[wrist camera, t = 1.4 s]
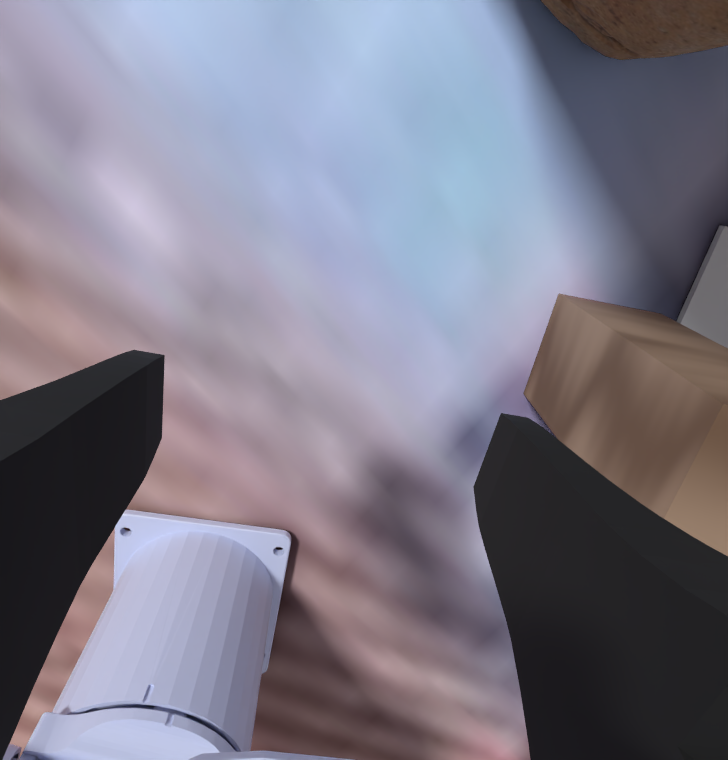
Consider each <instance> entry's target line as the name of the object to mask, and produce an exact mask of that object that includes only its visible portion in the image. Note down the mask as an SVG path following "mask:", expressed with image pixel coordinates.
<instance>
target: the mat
mask: <svg viewBox="0 0 728 760" xmlns="http://www.w3.org/2000/svg"><path fill="white" fill-rule="evenodd" d="M676 322H678V323H680V324H682V325H684V326H686V327H688V328H689V329H691V330H693V331H695V332H697V333H699V334H701V335H703V336H705V337H707V338H709V339H711V340H712V341H714V342H716V343H718V344H720V345H722V346H724V347H726V348H728V227H726V226H721V225H719V227H718V230H717V232H716V234H715V236H714V239H713V241H712V243H711V245H710V248H709V250H708V252H707V254H706V256H705V259H704V261H703V263H702V265H701V268H700V270H699V272H698V274H697V276H696V279H695V281H694V283H693V285H692V288H691V290H690V292H689V294H688V296H687V299H686V301H685V303H684V305H683V308H682V310H681V312H680V314H679V316H678V319H677V321H676Z"/></svg>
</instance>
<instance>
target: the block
mask: <svg viewBox="0 0 728 760" xmlns="http://www.w3.org/2000/svg"><path fill="white" fill-rule="evenodd" d="M541 1H542V2H543V3H544V5H545V6H546V7H547V8H548V9H549V10H550V11H551V12H552V14H553V15H554V16H555V17H556V18H557V19H558V20H559V21H560V22H561V23H562V24H563V25H564V26H566V27H567V28H568V29H570V30H571V31H572V32H573V33H575V34H576V36H577V37H578V38H579V39H580V40H581V41H582V42H583V43H585V44H586V45H588V46H589V47H591V48H593V49H594V50H596V51H597V52H599V53H601V54H602V55H604V56H606V57H610V58H615V59H619V60H626V59H638V58H659V57H670V56H676V55H680V54H686V53H692V52H698V51H703V50H708V49H712V48H717V47H722V46H726V45H728V0H541Z"/></svg>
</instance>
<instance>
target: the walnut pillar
mask: <svg viewBox="0 0 728 760" xmlns="http://www.w3.org/2000/svg"><path fill="white" fill-rule="evenodd" d="M524 395H525V396H526V397H527V399H528V400H529V401H530V403H531V404H532V405H533V407H534V408H535V409H536V411H537V412H538V414H539V415H540V416H541V418H542V419H543V420H544V422H545V423H546V424H547V426H548V427H549V428H550V430H551V431H552V432H553V434H554V435H555V436H556V438H557V439H558V440H559V441H561V442H562V443H563V444H564V445H566V446H567V447H568V448H569V449H570V450H572V451H573V452H574V453H575V454H577V455H578V456H579V457H580V458H582V459H583V460H584V461H585V462H587V463H588V464H589V465H590V466H592V467H593V468H594V469H595V470H597V471H598V472H599V473H601V474H602V475H603V476H604V477H606V478H607V479H608V480H610V481H611V482H612V483H614V484H615V485H616V486H618V487H619V488H620V489H622V490H623V491H625V492H626V493H627V494H629V495H630V496H631V497H633V498H634V499H636V500H637V501H638V502H640V503H641V504H643V505H644V506H645V507H647V508H648V509H650V510H651V511H653V512H654V513H656V514H657V515H659V516H660V517H662V518H664V519H665V520H667V521H668V522H670V523H672V524H673V525H675V526H676V527H678V528H680V529H681V530H683V531H684V532H686V533H688V534H689V535H691V536H692V537H694V538H696V539H698V540H699V541H701V542H703V543H705V544H706V545H708V546H710V547H711V548H713V549H715V550H717V551H719V552H721V553H723V554H724V555H726V556H728V348H726V347H724V346H722V345H720V344H718V343H716V342H714V341H712V340H711V339H709V338H707V337H705V336H703V335H701V334H699V333H697V332H695V331H693V330H691V329H689V328H688V327H686V326H684V325H682V324H680V323H678V322H676V321H674V320H672V319H670V318H668V317H666V316H664V315H663V314H660V313H655V312H650V311H645V310H640V309H635V308H629V307H624V306H619V305H614V304H609V303H604V302H599V301H594V300H589V299H584V298H578V297H573V296H568V295H563V294H558V297H557V300H556V303H555V306H554V309H553V311H552V314H551V317H550V320H549V323H548V326H547V328H546V331H545V334H544V337H543V340H542V343H541V345H540V348H539V351H538V354H537V357H536V360H535V362H534V365H533V368H532V371H531V374H530V377H529V380H528V382H527V385H526V388H525V391H524Z"/></svg>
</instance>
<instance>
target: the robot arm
mask: <svg viewBox="0 0 728 760" xmlns="http://www.w3.org/2000/svg"><path fill="white" fill-rule="evenodd" d="M163 385H164V355H160V354H155V353H149V352H143V351H137V350H132V351H129V352H125V353H123V354H120V355H117V356H115V357H112V358H110V359H107V360H105V361H102V362H100V363H97V364H95V365H93V366H90V367H88V368H85V369H83V370H80V371H78V372H75V373H73V374H70V375H68V376H66V377H63V378H61V379H58V380H56V381H53V382H50V383H48V384H45V385H42V386H39V387H36V388H34V389H31V390H28V391H25V392H22V393H20V394H17V395H14V396H11V397H9V398H6V399H3V400H0V760H353V759H343V758H333V757H323V756H313V755H303V754H293V753H283V752H273V751H250V749H251V743H252V736H253V729H254V722H255V715H256V708H257V701H258V695H259V688H260V681H261V674H262V673H265V672H266V671H267V669H268V664H269V659H270V653H271V648H272V642H273V637H274V632H275V626H276V621H277V616H278V610H279V605H280V599H281V594H282V589H283V583H284V578H285V572H286V567H287V562H288V556H289V551H290V545H291V535H290V534H289V533H288V532H287V531H285V530H280V529H272V528H265V527H257V526H250V525H242V524H234V523H227V522H219V521H211V520H204V519H196V518H189V517H181V516H173V515H166V514H158V513H150V512H143V511H135V510H126V508H127V506H128V505H129V503H130V502H131V500H132V498H133V497H134V495H135V493H136V492H137V490H138V488H139V487H140V485H141V483H142V481H143V480H144V478H145V476H146V474H147V472H148V469H149V467H150V465H151V463H152V460H153V458H154V456H155V453H156V451H157V448H158V446H159V443H160V441H161V439H162V414H163ZM474 494H475V503H476V511H477V517H478V523H479V528H480V532H481V536H482V539H483V543H484V546H485V550H486V553H487V557H488V560H489V564H490V567H491V570H492V574H493V577H494V580H495V584H496V587H497V590H498V594H499V597H500V601H501V604H502V607H503V611H504V614H505V617H506V621H507V625H508V629H509V633H510V637H511V641H512V647H513V652H514V658H515V663H516V669H517V674H518V679H519V685H520V691H521V697H522V704H523V710H524V716H525V723H526V729H527V736H528V742H529V750H530V758H531V760H728V556H726V555H724V554H723V553H721V552H719V551H717V550H715V549H713V548H711V547H710V546H708V545H706V544H705V543H703V542H701V541H699V540H698V539H696V538H694V537H692V536H691V535H689V534H688V533H686V532H684V531H683V530H681V529H680V528H678V527H676V526H675V525H673V524H672V523H670V522H668V521H667V520H665V519H664V518H662V517H660V516H659V515H657V514H656V513H654V512H653V511H651V510H650V509H648V508H647V507H645V506H644V505H643V504H641V503H640V502H638V501H637V500H636V499H634V498H633V497H631V496H630V495H629V494H627V493H626V492H625V491H623V490H622V489H620V488H619V487H618V486H616V485H615V484H614V483H612V482H611V481H610V480H608V479H607V478H606V477H604V476H603V475H602V474H601V473H599V472H598V471H597V470H595V469H594V468H593V467H592V466H590V465H589V464H588V463H587V462H585V461H584V460H583V459H582V458H580V457H579V456H578V455H577V454H575V453H574V452H573V451H572V450H570V449H569V448H568V447H567V446H566V445H564V444H563V443H562V442H561V441H559V440H558V439H557V438H556V437H554V436H553V435H552V434H550V433H549V432H548V431H547V430H545V429H544V428H543V427H541V426H540V425H538V424H537V423H535V422H534V421H532V420H531V419H529V418H526V417H520V416H514V415H509V414H503V413H501V415H500V417H499V420H498V423H497V426H496V428H495V431H494V434H493V436H492V439H491V442H490V444H489V447H488V450H487V452H486V455H485V458H484V460H483V463H482V466H481V468H480V471H479V474H478V476H477V479H476V482H475V485H474ZM114 528H115V551H114V591H113V592H112V594H111V596H110V598H109V600H108V602H107V604H106V606H105V608H104V610H103V612H102V614H101V616H100V618H99V620H98V622H97V624H96V626H95V628H94V630H93V632H92V634H91V636H90V638H89V640H88V642H87V644H86V646H85V648H84V650H83V652H82V654H81V656H80V658H79V660H78V662H77V664H76V666H75V668H74V670H73V672H72V674H71V676H70V678H69V680H68V681H67V683H66V685H65V687H64V689H63V691H62V693H61V695H60V697H59V699H58V701H57V703H56V705H55V707H54V709H53V711H52V713H51V712H45V713H43V714H42V716H41V718H40V720H39V722H38V724H37V726H36V728H35V730H34V732H33V734H32V736H31V738H30V739H29V741H28V743H27V745H26V747H25V749H24V751H23V754H22V755H21V757H20V759H19V756H20V752H21V747H18V746H15V745H11V744H9V743H10V741H11V738H12V736H13V734H14V731H15V729H16V727H17V724H18V722H19V719H20V717H21V715H22V712H23V710H24V708H25V705H26V703H27V701H28V698H29V696H30V694H31V691H32V689H33V687H34V684H35V682H36V680H37V678H38V675H39V673H40V671H41V669H42V667H43V664H44V662H45V660H46V658H47V655H48V653H49V651H50V649H51V647H52V644H53V642H54V640H55V638H56V635H57V633H58V631H59V629H60V627H61V625H62V623H63V621H64V619H65V616H66V614H67V612H68V610H69V608H70V606H71V604H72V602H73V600H74V597H75V595H76V593H77V591H78V589H79V587H80V585H81V583H82V581H83V580H84V578H85V576H86V574H87V572H88V571H89V569H90V567H91V565H92V563H93V562H94V560H95V559H96V557H97V555H98V554H99V552H100V550H101V549H102V547H103V546H104V544H105V542H106V541H107V539H108V537H109V536H110V534H111V533H112V531H113V529H114ZM124 528H129V529H130V530H131V531H127V530H125V529H124ZM276 547H281V548H283V549H282V550H277V549H276Z"/></svg>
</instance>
